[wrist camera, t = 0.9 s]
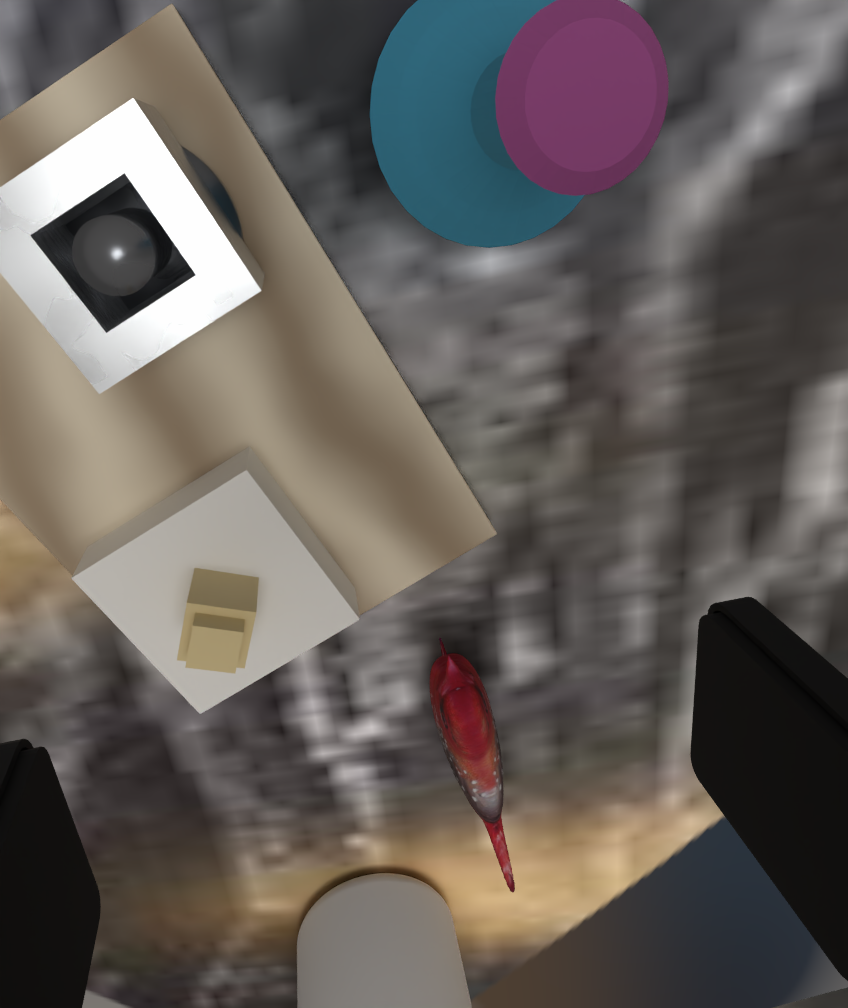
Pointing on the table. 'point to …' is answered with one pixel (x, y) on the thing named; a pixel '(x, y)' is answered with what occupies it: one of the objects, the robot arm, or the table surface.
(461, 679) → the decorative bird figurine
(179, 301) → the steel collar
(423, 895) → the cup
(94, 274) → the rod stand
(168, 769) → the table surface
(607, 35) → the perfume bottle
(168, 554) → the block
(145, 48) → the board
